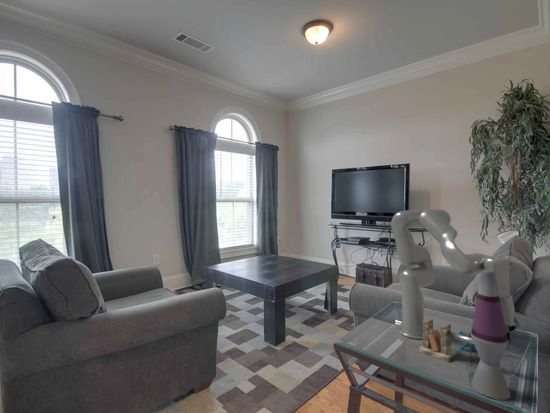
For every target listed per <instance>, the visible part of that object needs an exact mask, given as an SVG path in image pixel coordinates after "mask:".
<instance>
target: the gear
mask: <svg viewBox="0 0 550 413" xmlns="http://www.w3.org/2000/svg"><path fill="white" fill-rule="evenodd" d="M458 334H460V335H464V336H467V337H469V336H468V335H467V334H465V333H464V332H463V331H462V330H460V331H459V332H458ZM469 346H470V347H471V348H473V349H472V350H474V351H475V352H476V353H477V354H478V352H477V349H476V347H475V345H472V344H469V343H466V342H461V343H460V347H459V349H460V350H461V351H462V350H464V349H465V348H466V347H469Z"/></svg>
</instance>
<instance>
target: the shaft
mask: <svg viewBox="0 0 550 413" xmlns="http://www.w3.org/2000/svg"><path fill="white" fill-rule="evenodd" d="M467 336H468V335H466V336H464V335H461V334H460V333H456V332H452V331H451V332H449V331H447V337H448V338H451V340H452V339H453V340H456V341H459V342H461V343H463V342H466V343H469V344H472V345H475V344H474V341H473V339H472V336H468V337H467Z"/></svg>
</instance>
